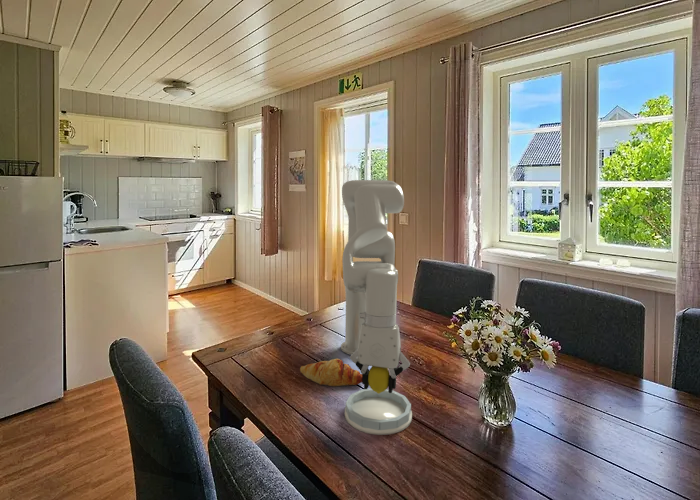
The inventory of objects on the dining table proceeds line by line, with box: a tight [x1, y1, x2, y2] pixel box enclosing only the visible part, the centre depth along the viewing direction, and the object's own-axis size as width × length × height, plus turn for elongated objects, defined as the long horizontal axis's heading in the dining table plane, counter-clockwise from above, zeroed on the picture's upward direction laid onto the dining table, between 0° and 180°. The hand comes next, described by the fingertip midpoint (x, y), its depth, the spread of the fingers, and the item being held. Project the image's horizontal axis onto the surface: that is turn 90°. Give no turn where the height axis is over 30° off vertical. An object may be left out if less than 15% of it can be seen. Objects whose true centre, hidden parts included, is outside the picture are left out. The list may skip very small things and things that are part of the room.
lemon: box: [368, 366, 390, 394], centre depth 102 cm, size 6×6×8 cm
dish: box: [344, 388, 413, 436], centre depth 103 cm, size 17×17×3 cm
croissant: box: [299, 358, 362, 387], centre depth 122 cm, size 21×10×8 cm
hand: (378, 388), depth 102 cm, fingers closed on lemon, 5 cm apart
